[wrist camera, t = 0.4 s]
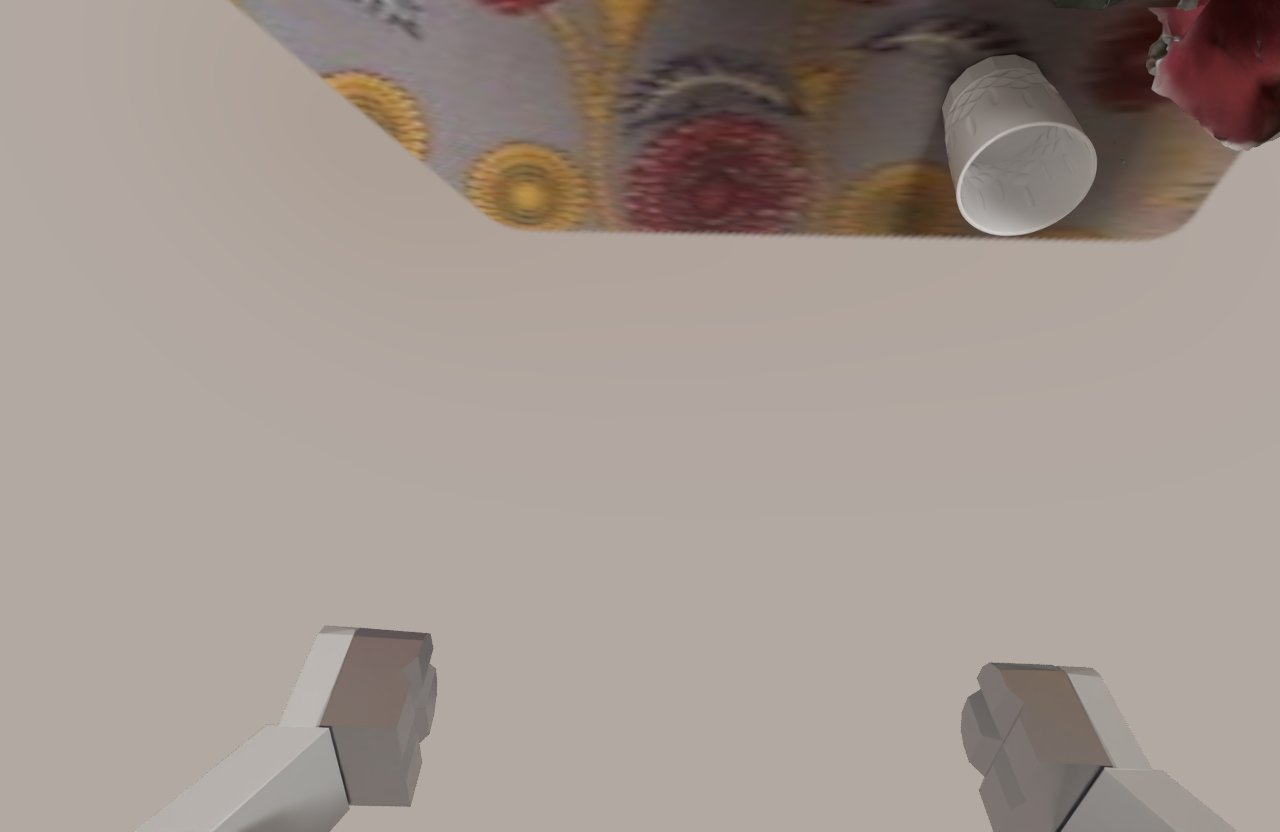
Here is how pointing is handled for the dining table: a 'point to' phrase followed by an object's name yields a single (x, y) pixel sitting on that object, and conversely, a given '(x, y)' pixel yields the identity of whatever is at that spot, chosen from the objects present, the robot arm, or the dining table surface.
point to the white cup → (1014, 148)
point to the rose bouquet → (1217, 65)
